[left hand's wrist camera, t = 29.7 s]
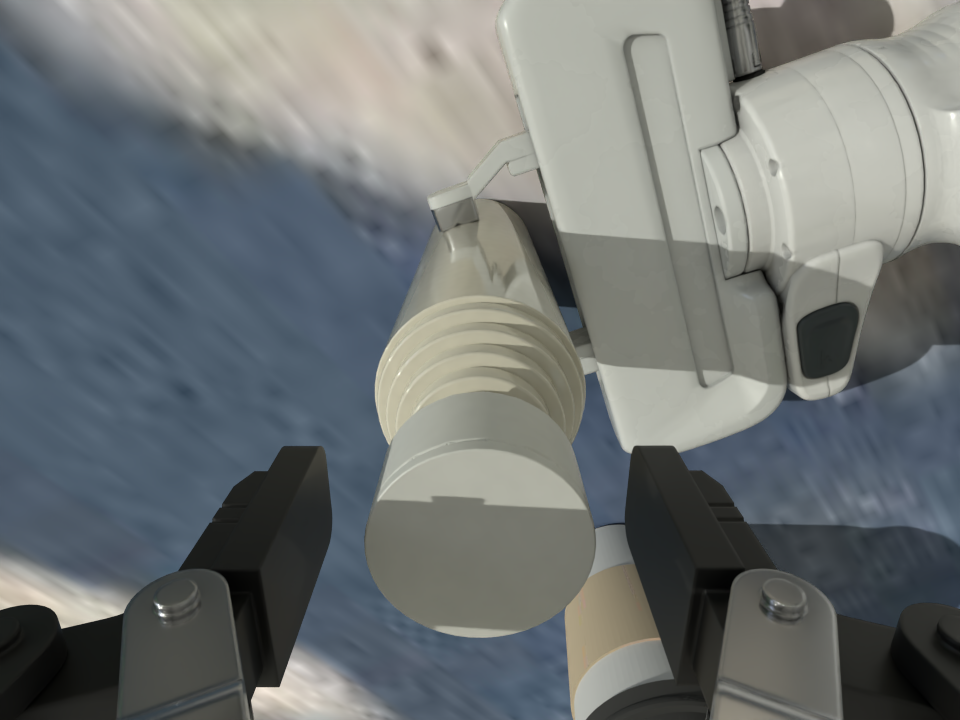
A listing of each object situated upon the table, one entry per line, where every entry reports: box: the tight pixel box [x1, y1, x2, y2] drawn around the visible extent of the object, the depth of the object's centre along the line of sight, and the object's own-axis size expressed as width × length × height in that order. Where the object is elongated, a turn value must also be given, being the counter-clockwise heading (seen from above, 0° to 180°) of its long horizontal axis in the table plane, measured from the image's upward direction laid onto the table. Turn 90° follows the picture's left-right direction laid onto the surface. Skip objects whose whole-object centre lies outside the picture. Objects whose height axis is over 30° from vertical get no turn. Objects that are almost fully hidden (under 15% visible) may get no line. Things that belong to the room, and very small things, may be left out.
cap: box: [364, 391, 596, 638], centre depth 11 cm, size 4×4×2 cm
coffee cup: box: [565, 525, 708, 720], centre depth 33 cm, size 9×9×15 cm
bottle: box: [375, 199, 586, 445], centre depth 22 cm, size 6×6×24 cm
